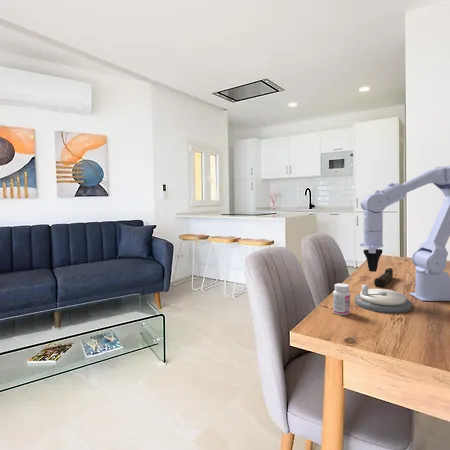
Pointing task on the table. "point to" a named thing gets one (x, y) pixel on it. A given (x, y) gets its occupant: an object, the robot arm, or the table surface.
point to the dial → (382, 296)
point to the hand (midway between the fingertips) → (372, 271)
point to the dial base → (383, 306)
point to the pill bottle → (341, 299)
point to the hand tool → (384, 278)
